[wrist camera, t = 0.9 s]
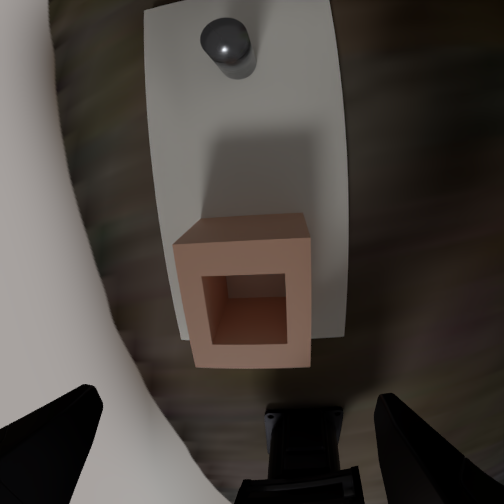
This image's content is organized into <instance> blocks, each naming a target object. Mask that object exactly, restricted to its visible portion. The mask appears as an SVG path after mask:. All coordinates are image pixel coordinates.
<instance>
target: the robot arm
mask: <svg viewBox="0 0 504 504" xmlns="http://www.w3.org/2000/svg"><path fill="white" fill-rule="evenodd" d="M102 411H103V402H102V400H101V398H100V396H99V394H98V392H97V390H96V388H95V387H94V386H92V385H87V384H83V385H81V386H79V387H78V388H76V389H74V390H72V391H70V392H68V393H67V394H65V395H63V396H61V397H59V398H57V399H56V400H54V401H52V402H50V403H48V404H46V405H45V406H43V407H41V408H39V409H37V410H35V411H34V412H32V413H30V414H28V415H26V416H24V417H22V418H20V419H18V420H17V421H15V422H13V423H11V424H9V425H7V426H5V427H3V428H1V429H0V504H69V503H70V500H71V497H72V495H73V492H74V489H75V487H76V484H77V481H78V479H79V476H80V474H81V471H82V469H83V466H84V463H85V461H86V458H87V456H88V454H89V451H90V449H91V446H92V444H93V440H94V437H95V434H96V430H97V427H98V424H99V420H100V417H101V414H102ZM336 412H337V413H336ZM342 419H343V408H342V407H327V408H312V409H286V410H267V411H266V412H265V427H266V439H267V450H268V454H269V467H268V479H266V480H251V479H245V480H243V482H242V485H241V487H240V488H239V491H238V494H237V497H236V500H235V502H234V504H365V503H364V497H363V491H362V485H361V479H360V474H359V468H358V466H354V467H351V468H349V469H344V470H340V461H339V453H338V441H339V436H340V431H341V425H342ZM374 423H375V431H376V439H377V448H378V457H379V464H380V468H381V473H382V477H383V481H384V486H385V491H386V495H387V500H388V504H504V485H502V484H500V483H499V482H497V481H496V480H494V479H493V478H492V477H490V476H489V475H487V474H486V473H485V472H483V471H482V470H481V469H480V468H478V467H477V466H476V465H475V464H473V463H472V462H471V461H470V460H469V459H468V458H465V456H464V455H463V454H462V453H461V452H459V451H458V450H457V449H456V448H455V447H454V446H453V445H451V444H450V443H449V442H448V441H447V440H446V439H445V438H443V437H442V436H441V435H440V434H439V433H438V432H437V431H435V430H434V429H433V428H432V427H431V426H430V425H429V424H427V423H426V422H425V421H424V420H423V419H422V418H421V417H420V416H418V415H417V414H416V413H415V412H414V411H413V410H412V409H410V408H409V407H408V406H407V405H406V404H405V403H404V402H403V401H401V400H400V399H399V398H398V397H397V396H396V395H395V394H393V393H385V394H380V395H379V397H378V400H377V404H376V408H375V412H374Z"/></svg>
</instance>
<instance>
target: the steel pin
mask: <svg viewBox="0 0 504 504" xmlns="http://www.w3.org/2000/svg"><path fill="white" fill-rule="evenodd" d="M200 43H201V46H202V48H203V50H204V51H205V52H206V53H207V54H208V56H209V57H210V58H211V59H212V60H213V62H214V63H215V64H216V65H217V66H218V67H219V69H220V70H221V71H222V72H223V73H224V75H226V76H227V77H228V78H231V79H235V80H240V79H244V78H247V77H248V76H250V75H251V74H252V73H253V72H254V70H255V68H256V57H255V54H254V51H253V48H252V45H251V42H250V38H249V35H248V32H247V29H246V27H245V26H244V25H243V24H242V23H241V22H240V21H238V20H236V19H234V18H226V17H225V18H219V19H216V20H213V21H212V22H210V23H209V24H208V25H206V27H205V28H204V29H203V31H202V33H201V36H200Z"/></svg>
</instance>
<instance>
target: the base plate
mask: <svg viewBox="0 0 504 504" xmlns="http://www.w3.org/2000/svg"><path fill="white" fill-rule="evenodd" d="M225 17H226V18H234V19H236V20H238V21H240V22H241V23H242V24H243V25H244V26H245V27H246V29H247V32H248V35H249V38H250V42H251V45H252V48H253V51H254V54H255V57H256V68H255V70H254V72H253V73H252V74H251V75H250V76H248V77H247V78H244V79H240V80H235V79H231V78H228V77H227V76H226V75H224V73H223V72H222V71H221V70H220V69H219V67H218V66H217V65H216V64H215V63H214V62H213V60H212V59H211V58H210V57H209V56H208V54H207V53H206V52H205V51H204V50H203V48H202V46H201V43H200V36H201V33H202V31H203V29H204V28H205V27H206V25H208V24H209V23H210V22H212V21H213V20H216V19H219V18H225ZM144 59H145V84H146V102H147V116H148V129H149V140H150V151H151V160H152V169H153V178H154V186H155V194H156V202H157V209H158V216H159V223H160V230H161V236H162V242H163V248H164V254H165V260H166V266H167V272H168V277H169V282H170V288H171V293H172V298H173V303H174V308H175V313H176V317H177V322H178V327H179V331H180V336H181V340H190V339H189V334H188V329H187V324H186V319H185V314H184V309H183V304H182V299H181V293H180V288H179V282H178V276H177V271H176V265H175V259H174V253H173V246H172V244H173V243H175V242H176V241H177V240H178V239H179V238H180V237H181V236H182V235H183V234H184V233H185V232H186V231H188V230H189V229H190V228H191V227H192V226H193V225H194V224H195V223H196V222H197V221H199V220H200V219H202V218H216V217H231V216H247V215H265V214H284V213H303V215H304V218H305V221H306V224H307V228H308V231H309V234H310V237H311V339H314V338H331V337H344V332H345V318H346V301H347V280H348V242H349V207H348V169H347V148H346V132H345V118H344V106H343V95H342V86H341V76H340V68H339V60H338V52H337V45H336V38H335V32H334V25H333V19H332V13H331V8H330V2H329V0H184V1H180V2H175V3H171V4H167V5H163V6H159V7H156V8H152V9H148V10H145V11H144ZM226 281H227V290H228V298H258V297H286V284H285V273H282V274H257V275H229V276H226Z"/></svg>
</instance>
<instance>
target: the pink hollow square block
mask: <svg viewBox="0 0 504 504" xmlns="http://www.w3.org/2000/svg"><path fill="white" fill-rule="evenodd" d="M172 246H173V253H174V259H175V265H176V271H177V276H178V282H179V288H180V293H181V299H182V304H183V309H184V314H185V319H186V324H187V329H188V334H189V339H190V343H191V348H192V352H193V357H194V361H195V366H196V367H199V368H235V369H266V368H301V367H310V361H311V237H310V234H309V231H308V228H307V224H306V221H305V218H304V215H303V213H284V214H265V215H247V216H231V217H216V218H202V219H200V220H199V221H197V222H196V223H195V224H194V225H193V226H192V227H191V228H190V229H189V230H188V231H186V232H185V233H184V234H183V235H182V236H181V237H180V238H179V239H178V240H177V241H176V242H175V243H173V244H172ZM282 273H285V284H286V297H258V298H228V290H227V281H226V276H229V275H257V274H282Z"/></svg>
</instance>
